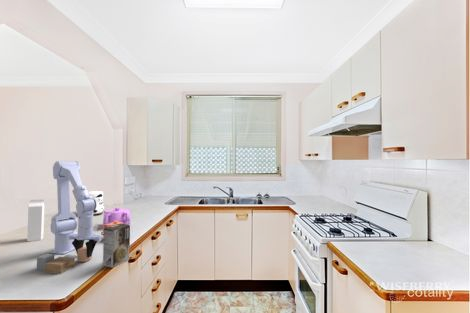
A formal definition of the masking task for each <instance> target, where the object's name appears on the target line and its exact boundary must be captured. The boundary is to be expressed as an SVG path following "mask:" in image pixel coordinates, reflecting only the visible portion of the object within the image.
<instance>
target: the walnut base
mask: <svg viewBox="0 0 470 313" xmlns="http://www.w3.org/2000/svg"><path fill="white" fill-rule="evenodd" d="M75 259H76V258H73V257H64V256H57V257H56V258H54V259H53V260H51V261H49V262H47V263H45V270H44V273H47V274H48V273H49V274H50V273H51V274H63V273H65V272H66V271H68V270H70V269H72V268H73V267H75Z"/></svg>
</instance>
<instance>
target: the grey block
mask: <svg viewBox="0 0 470 313" xmlns="http://www.w3.org/2000/svg"><path fill="white" fill-rule="evenodd" d="M53 259H55V253H45V254H43V255H40V256H37V257H36V271H45V263H47V262H49V261H51V260H53Z"/></svg>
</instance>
